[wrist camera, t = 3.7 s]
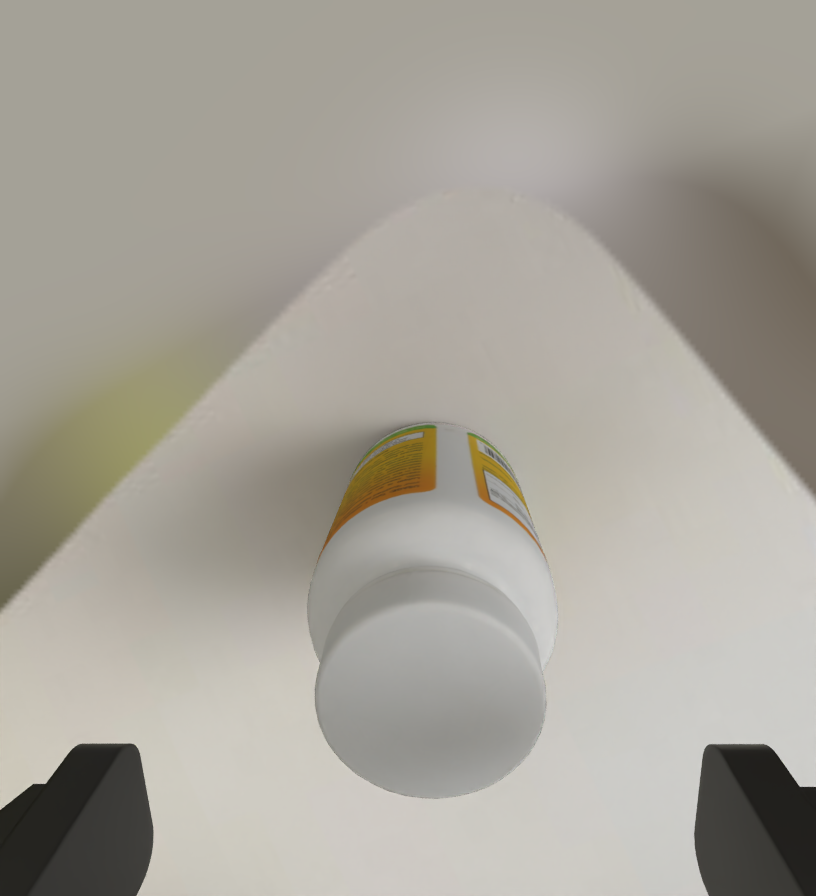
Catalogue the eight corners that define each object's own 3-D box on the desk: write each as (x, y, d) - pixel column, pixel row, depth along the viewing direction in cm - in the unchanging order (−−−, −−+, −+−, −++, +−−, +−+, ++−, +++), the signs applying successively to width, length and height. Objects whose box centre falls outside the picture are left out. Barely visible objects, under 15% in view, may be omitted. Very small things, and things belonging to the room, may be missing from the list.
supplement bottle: (335, 560, 21) (250, 800, 12) (365, 402, 19) (296, 532, 10) (496, 594, 21) (542, 860, 12) (539, 439, 19) (631, 602, 10)
